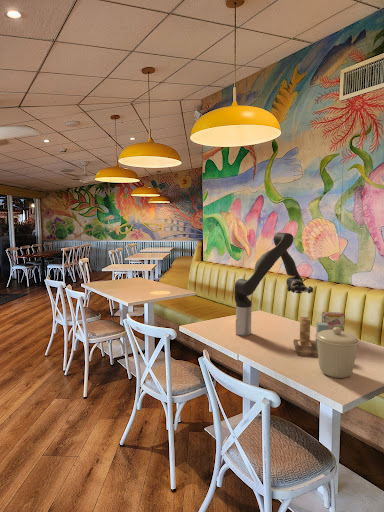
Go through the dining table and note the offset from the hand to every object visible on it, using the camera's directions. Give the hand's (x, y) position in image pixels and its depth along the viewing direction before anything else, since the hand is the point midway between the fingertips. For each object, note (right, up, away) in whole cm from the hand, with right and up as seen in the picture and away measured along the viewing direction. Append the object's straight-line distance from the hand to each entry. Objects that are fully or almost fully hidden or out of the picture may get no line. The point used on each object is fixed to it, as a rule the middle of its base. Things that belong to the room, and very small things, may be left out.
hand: (301, 291), depth 190 cm
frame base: (0, -29, -15) cm, 33 cm away
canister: (+1, -32, -42) cm, 53 cm away
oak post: (-3, -27, -12) cm, 30 cm away
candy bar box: (+16, -28, -3) cm, 33 cm away
